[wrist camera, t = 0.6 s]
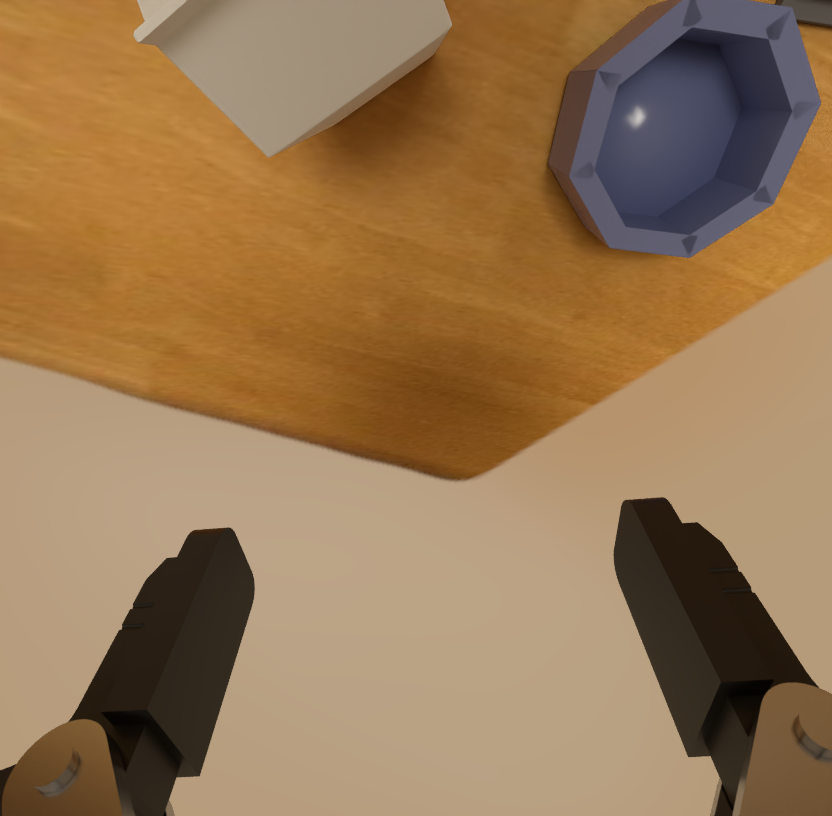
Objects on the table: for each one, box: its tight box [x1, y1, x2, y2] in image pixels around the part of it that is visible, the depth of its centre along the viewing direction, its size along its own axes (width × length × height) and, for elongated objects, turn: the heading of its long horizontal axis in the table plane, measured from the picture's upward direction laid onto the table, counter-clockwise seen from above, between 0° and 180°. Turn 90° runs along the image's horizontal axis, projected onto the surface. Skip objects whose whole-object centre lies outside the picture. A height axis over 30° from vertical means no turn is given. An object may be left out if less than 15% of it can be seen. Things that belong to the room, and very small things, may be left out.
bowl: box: [548, 0, 821, 258], centre depth 28 cm, size 11×11×6 cm
